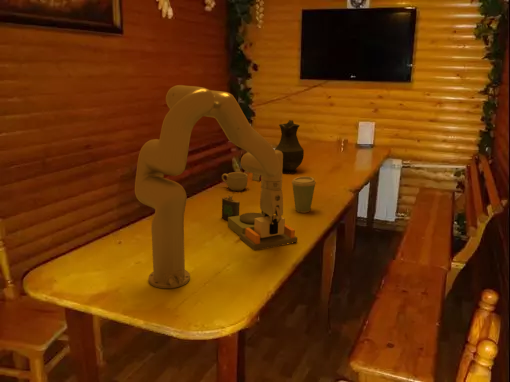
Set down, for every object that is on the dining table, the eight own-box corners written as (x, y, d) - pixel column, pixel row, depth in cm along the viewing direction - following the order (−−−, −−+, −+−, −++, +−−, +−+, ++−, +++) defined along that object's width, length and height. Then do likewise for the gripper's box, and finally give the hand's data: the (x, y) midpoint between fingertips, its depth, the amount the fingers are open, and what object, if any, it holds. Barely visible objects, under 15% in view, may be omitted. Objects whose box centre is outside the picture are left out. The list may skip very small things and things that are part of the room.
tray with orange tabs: (297, 242, 177) (297, 229, 175) (254, 250, 169) (254, 236, 168) (265, 220, 199) (265, 209, 198) (225, 226, 191) (225, 214, 190)
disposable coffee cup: (304, 215, 207) (306, 182, 202) (285, 210, 214) (286, 178, 209) (318, 210, 214) (320, 178, 210) (299, 205, 221) (301, 174, 217)
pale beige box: (285, 233, 177) (285, 218, 175) (260, 238, 172) (261, 222, 170) (277, 229, 181) (278, 214, 179) (254, 233, 176) (254, 218, 174)
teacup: (251, 188, 247) (251, 174, 244) (239, 193, 238) (239, 178, 235) (229, 184, 254) (229, 170, 251) (217, 189, 245) (217, 174, 243)
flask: (240, 221, 198) (240, 197, 195) (235, 223, 196) (236, 198, 193) (224, 216, 203) (224, 192, 201) (219, 218, 201) (219, 194, 198)
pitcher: (272, 174, 278) (273, 123, 270) (276, 166, 298) (278, 118, 289) (301, 176, 275) (304, 124, 267) (304, 168, 295) (306, 119, 287)
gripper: (292, 189, 165) (290, 237, 170) (269, 177, 180) (268, 222, 185) (273, 191, 162) (271, 240, 167) (251, 179, 177) (250, 225, 182)
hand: (269, 230), depth 176 cm, fingers closed on pale beige box, 5 cm apart
